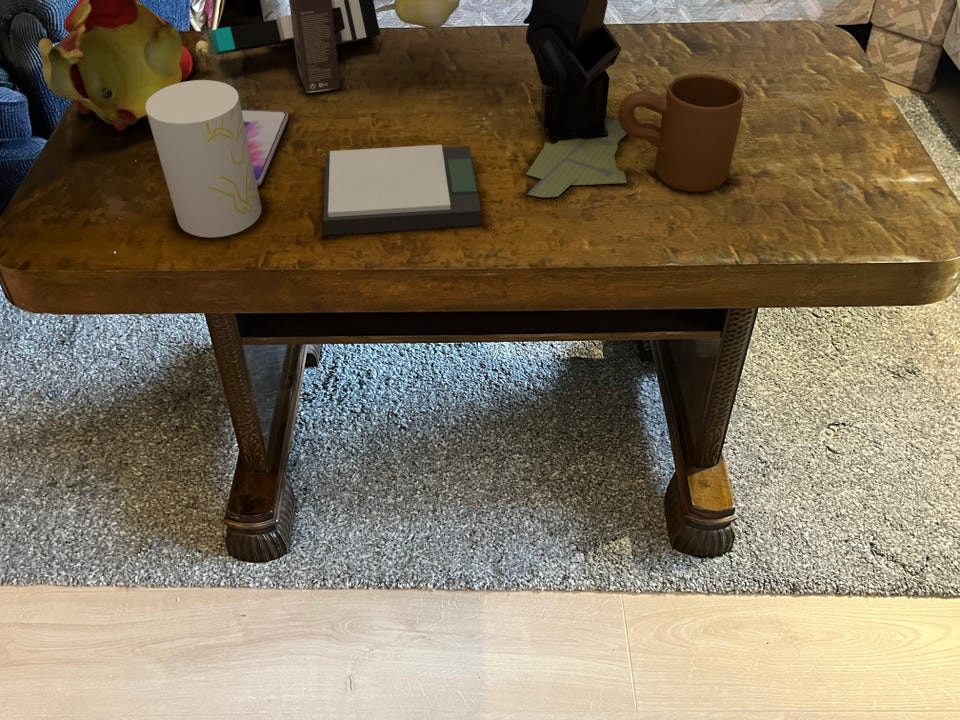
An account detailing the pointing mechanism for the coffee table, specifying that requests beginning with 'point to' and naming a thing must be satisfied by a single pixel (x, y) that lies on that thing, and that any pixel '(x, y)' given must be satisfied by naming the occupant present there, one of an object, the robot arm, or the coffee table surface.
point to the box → (315, 44)
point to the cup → (205, 157)
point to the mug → (689, 129)
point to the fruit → (423, 11)
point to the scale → (399, 189)
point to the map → (578, 163)
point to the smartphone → (263, 137)
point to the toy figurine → (192, 58)
